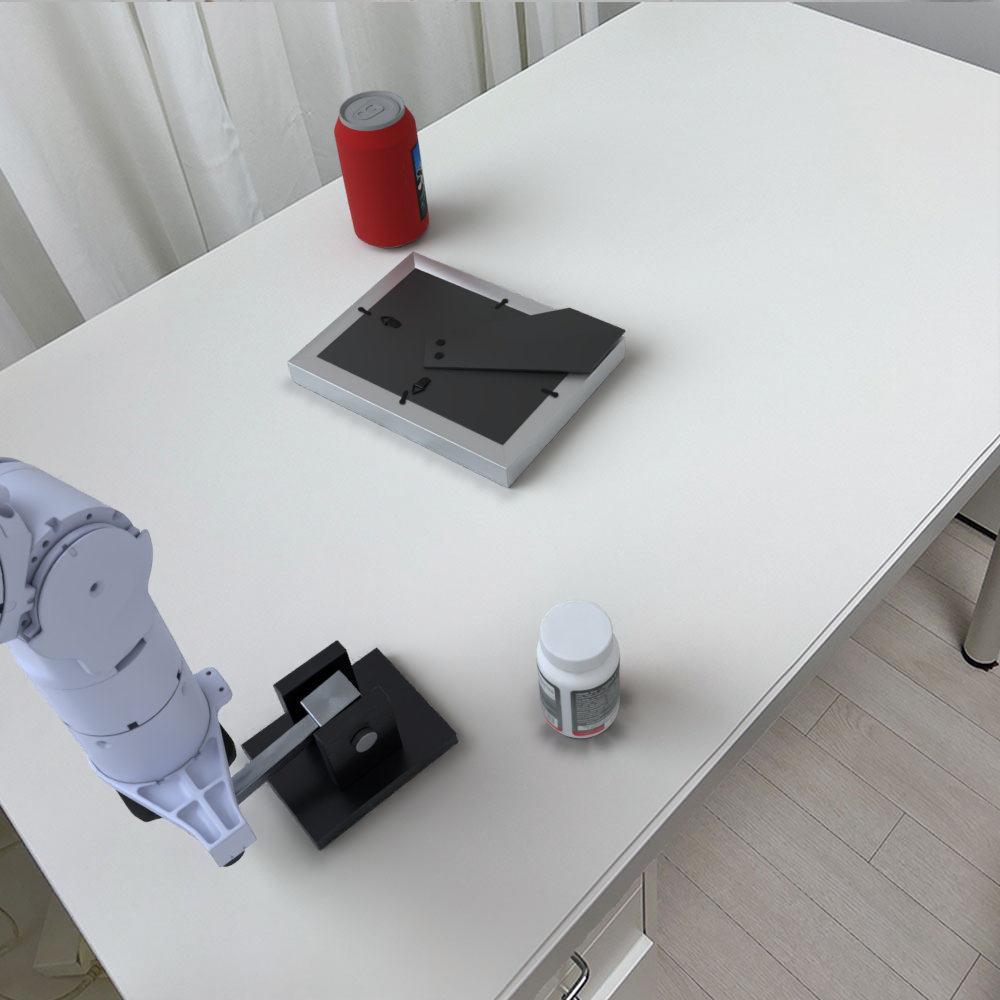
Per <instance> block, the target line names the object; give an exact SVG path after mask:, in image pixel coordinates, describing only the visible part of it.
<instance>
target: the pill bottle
mask: <svg viewBox="0 0 1000 1000" xmlns="http://www.w3.org/2000/svg"><path fill="white" fill-rule="evenodd" d="M535 661H536V668H537V669H536V671H537V679H538V680H537V681H538V690H539V700H540V701H539V702H540V708H541V713H542V715H543V717H544V719H545V721H546V722H547V724H548V725H549V726H550V727H551V728H552V729H553V730H555V731H556V732H558V733H559V734H562V735H563V736H567V737H569V738H574V739H585V738H587V739H588V738H591V737H595V736H598V735H600V734H601V733H603V732H604V731H606V730H607V729H609V727H610V726H611V725H612V724H613V722H614V721H615V720H616V717H617V716H618V712H619V709H620V702H621V701H620V700H621V699H620V698H621V697H620V695H621V694H620V691H621V689H620V687H621V685H620V683H621V681H620V678H621V677H620V673H621V672H620V671H621V670H620V669H621V667H620V666H621V652H620V646H619V641H618V640H617V637H616V635H615V634H614V627H613V624H612V620H611V618H610V616H609V615H608V613H607V612H606V611H605V609H603V608H602V607H600V606H599V605H597V604H596V603H593V602H591V601H588V600H583V599H569V600H565V601H562V602H560V603H557V604H556V605H554V606H552V607H551V608H550V609H549V610H548V611H547V612H546V613H545V614H544V616H543V617H542V620H541V622H540V626H539V639H538V641H537V644H536V650H535Z"/></svg>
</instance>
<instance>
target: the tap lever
mask: <svg viewBox="0 0 1000 1000" xmlns="http://www.w3.org/2000/svg"><path fill="white" fill-rule="evenodd" d="M361 698H362V695H361V694H360V692H359V691H358V690H357V689H356V688H355V687H354V686H353V685H352V683H351V682H350V681H349V680H348V679H347V678H346V677H345V676H344V674H343V673H342V672H341V671H340V670H337V671H336V672H335V673H334V674H333V675H331V676H330V677H329V678H328V679H327V680H325V681H324V682H323V683H322V684H320V685H319V686H318V687H317V688H316V689H314V690H313V691H312V692H311V693H310V694H308V695H307V696H306V697H305V698H303V699H302V700H301V701H300V704H301V705H302V706H303V708H304V709H305V710H306V712H307V713H308V714H307V715H306V716H305V717H304V718H303V719H301V720H300V721H299V722H298V723H297V724H295V725H294V726H293V727H292V728H291V729H289V730H288V731H287V732H286V733H284V734H283V735H282V736H281V737H280V738H278V739H277V740H276V741H275V742H274V743H272V744H271V745H270V746H269V747H268V748H266V749H265V750H264V751H263V752H262V753H260V754H259V755H258V756H257V757H256V758H254V759H253V760H252V761H249V762H248V763H246V765H244V766H243V767H242V768H241V769H240V770H238V771H237V772H236V773H235V774H233V776H231V779H232V783H233V788H234V792H235V796H236V799H237V803H238V806H239V805H240V804H242V803H243V802H244V801H246V799H248V798H249V797H250V796H251V795H252V794H254V793H255V792H256V791H257V790H259V788H260V787H262V786H263V785H264V784H265V783H267V782H266V781H268V780H269V779H270V778H271V777H272V776H274V775H275V774H276V773H277V772H278V771H280V770H281V769H282V768H283V767H284V766H286V765H287V764H288V763H289V762H290V761H291V760H293V759H294V758H295V757H296V756H297V755H299V754H300V753H301V752H302V751H303V750H305V749H306V748H307V747H308V746H309V745H311V744H312V743H313V742H314V741H315V738H314V735H313V733H314V732H316V731H317V730H318V729H320V728H321V727H322V726H324V725H325V724H327V723H328V722H329V721H331V720H332V719H333V718H335V717H336V716H337V715H339V714H340V713H341V712H343V711H344V710H346V709H347V708H348V707H350V706H351V705H352V704H354V703H355V702H356V701H358V700H359V699H361ZM245 853H246V849H245V850H244V851H243V852H242V853H240V854H239V855H238V856H236V857H235V858H234V859H232V860H231V861H229V862H228V863H227V864H225V865H224V866H223V867H224V868H228V867H231V866H233V865H235V864H236V863H237V862H238V861H240V860H241V859H242V857H243V856H244V855H245ZM231 858H232V857H231ZM223 867H222V868H223Z"/></svg>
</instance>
